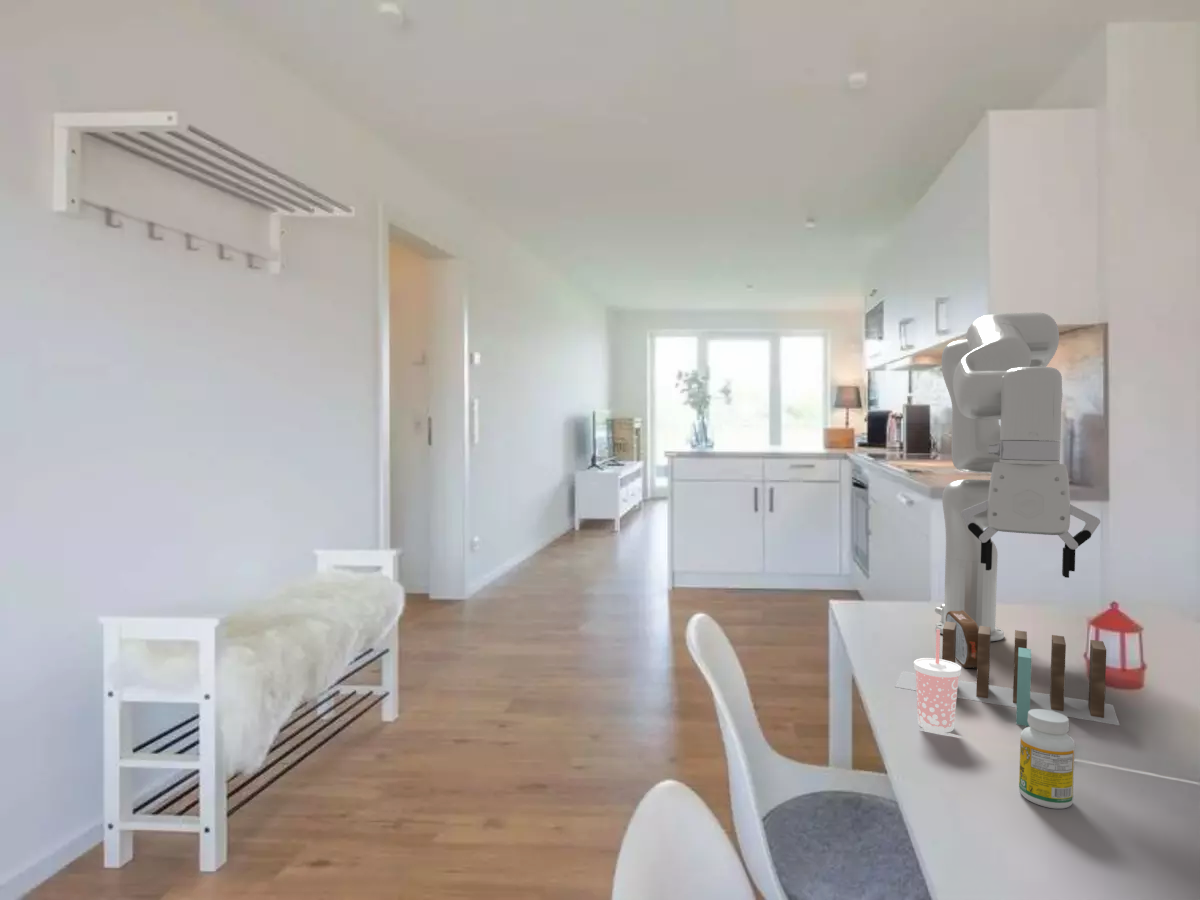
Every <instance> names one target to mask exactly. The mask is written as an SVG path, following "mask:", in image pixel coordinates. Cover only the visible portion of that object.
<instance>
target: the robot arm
mask: <svg viewBox="0 0 1200 900" xmlns="http://www.w3.org/2000/svg"><path fill="white" fill-rule="evenodd" d="M965 337H966V339H959V340H956V341H952V342H950V343H948V344H947V345H945V347H944V348H943V351H942V354H941V370H942V371H941V372H942V377H943V380H944V383H945V386H946V389H947V391H948V394H949V398H950V401H951V411H952V412H951V413H952V415H951V417H952V418H951V459H952V464H953V467H955V469H957V470H958V471H961V472H963V473H964V472H965V473H971V474H972V473H975V474H990V478H989V479H972V478H971V479H958V480H954V481H951V482H950V483H947V484H946V486H945V487H944V489H943V491H942V495H941V496H942V499H941V500H942V501H941V502H942V511H943V516H944V524H945V525H944V526H945V528H944V529H945V559H944V560H945V562H944V563H945V564H944V569H945V570H944V596H943V597H944V601H943V603H942V604H941V605H940V607H939V606H938V607H935V609H934V612H935V614H938V615H940V616H941V618H940V620H939V621H938V622H936V623H935V626H934V627H935V630H936V629H940V635H943V627H944V625H945V622H946V615H947V613H948V612H949V611H961V610H963V611H964V612H965V613H967V614H968V615H969V616H970V617H971V618H972V619H973V620H974V621H975V622H976V623H977V625H978V628H979V626H986V627H991V638H990V642H998V641H1001V640H1003V639H1004V637H1005V632H1004V630H1003V629H1001V628H999V627H997V626H996V625H997V624H996V623H997V622H996V620H997V619H996V617H997V586H998V585H997V584H998V583H997V582H998V557H999V556H998V548H997V545H996V544H995V543H994V541H993V540H992V537H993V536H994V535H995V534H997V533H998V532H1002V533H1003V532H1004V533H1015V534H1016V533H1018V534H1027V535H1028V534H1029V535H1045V536H1046V535H1048V536H1058V537H1059V538H1060V539H1061V540H1062V541H1063V543H1064V547H1062V565H1061V566H1062V567H1061V568H1062V569H1061V573H1062V575H1061V576H1062V577H1064V578H1070V572H1076V571H1075V570H1076V550H1077V549H1078V547H1080V546H1081V545H1082V544H1084V543H1085V542H1087V541H1088V540H1089V539H1091V537H1092V536H1093V534H1094V533H1095V531H1096V529H1097V528H1098V527H1099V525H1100V524H1101V520H1100V518H1099V517H1097V516H1095V515H1093V514H1091V513H1089V512H1087V511H1085V510H1084V509H1081V508H1079V507H1077V506H1075V505H1073V504H1071V495H1070V494H1071V491H1070V489H1071V488H1070V479H1069V474H1068V468H1067V464H1063V463H1061V437H1062V436H1061V435H1062V434H1061V433H1062V432H1061V431H1062V402H1063V376H1062V374H1061V372H1060V370H1058V369H1057V368H1054V367H1051V366H1050V367H1049V366H1048V365H1049V364H1050V363H1051V361H1052V359H1053V358H1054V356H1055V354H1056V353H1057V350H1058V348H1059V341H1060V331H1059V327H1058V324H1057V322H1056V321H1055V319H1054V318H1053V317H1052V316H1051V315H1049V314H1047V313H1044V312H1014V313H1013V312H1012V313H1011V312H1010V313H1008V312H1007V313H1005V312H1004V313H992V314H991V313H990V314H986V315H982V316H981V317H978V318H976V319H975V320H974V321H973V322H972V323H971V324H970V325H969V327H968V328H967V332H966V336H965ZM1071 516H1073V517H1075V518H1077V519H1078V520H1080V521H1083V522H1084V523H1085V524H1084V526H1083V528H1082V529H1081V531H1079V532H1077V533H1076V534H1075V535H1074V536H1073V535H1072V534H1071V533H1070V532H1069V530H1070V524H1071Z"/></svg>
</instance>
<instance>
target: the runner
mask: <svg viewBox="0 0 1200 900" xmlns="http://www.w3.org/2000/svg"><path fill="white" fill-rule="evenodd" d="M894 688H897V689H903V690H904V689H905V690H910V691H916V692H917V688H916V672H911V671H906V670H905V671H904V670H902V671H901V673H900V675H899V677H898V679H897V681H896V682H895V685H894ZM976 689H977V682H973V681H967V680H961V679H958V688H957V699H962V700H963V699H964V700H969V701H974V702H980V703H986V704H991V705H998V706H1003V707H1009V708H1016V709H1017V703H1013V688H1010V687H1004V686H998V685H992V684H989V693H988V698H982V697H976ZM1032 709H1045V710H1050V711H1054V712H1057V713H1060V714H1063V715H1065V716H1066V717H1067V718H1075V719H1078V720H1085V721H1091V722H1097V723H1102V724H1107V725H1114V726H1120V721H1119V719H1118V717H1117V713H1116V710H1115V707H1114V704H1110V703H1105V705H1104V718H1101V717H1095V716H1091V714H1090V710H1089V706H1088V700H1084V699H1079V698H1073V697H1066V696H1064V711H1059V710H1053V709H1051V704H1050V693H1043V692H1035V691H1030V710H1032Z"/></svg>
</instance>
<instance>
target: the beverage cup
mask: <svg viewBox="0 0 1200 900" xmlns="http://www.w3.org/2000/svg"><path fill="white" fill-rule="evenodd" d="M935 630H936V634H935V657H934V658H933V657H922V658H917V659H915V660H914V661H913V668H914V670H915V673H916V688H917V691H916V707H917V708H916V710H917V725H919V727H920V729H921V730H922V731H925V732H928V733H931V734H936V735H950V734H951V732H952V731H954V729H955V728H954V727H955V717H956V706H957V699H958V698H957V688H958V680H959V676H961V672H962V665H959V663H957V662H955V663H954V662H951V661H947V660H943V659H942V658H940V653H941V652H940V651H941V650H940V649H941V647H940V646H941V633H940V629H935Z"/></svg>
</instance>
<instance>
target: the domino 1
mask: <svg viewBox="0 0 1200 900" xmlns="http://www.w3.org/2000/svg"><path fill="white" fill-rule="evenodd" d="M941 651H942V652H941V653H942V654H941V659H943V660H947V661H951V662H954V663H956V658H955V656H956V623H954V622H945V625H944V627H943V634H942V650H941Z"/></svg>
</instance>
